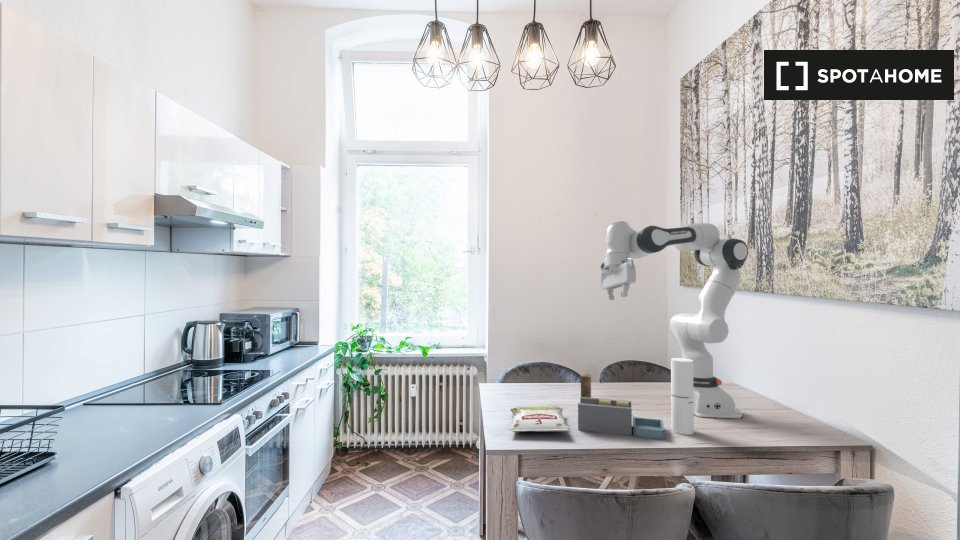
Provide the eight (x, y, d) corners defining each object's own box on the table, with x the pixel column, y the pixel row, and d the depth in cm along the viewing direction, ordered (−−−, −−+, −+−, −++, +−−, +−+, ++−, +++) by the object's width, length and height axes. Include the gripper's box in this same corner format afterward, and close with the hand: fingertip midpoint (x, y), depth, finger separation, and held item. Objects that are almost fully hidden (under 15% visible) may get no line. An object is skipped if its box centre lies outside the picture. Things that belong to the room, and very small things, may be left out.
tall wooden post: (591, 415, 174) (591, 374, 174) (590, 419, 169) (590, 376, 170) (582, 414, 175) (582, 373, 175) (580, 418, 170) (580, 376, 171)
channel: (631, 425, 162) (631, 401, 162) (631, 435, 152) (631, 408, 152) (580, 420, 167) (580, 396, 167) (578, 429, 158) (578, 404, 158)
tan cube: (610, 409, 161) (610, 398, 161) (610, 413, 157) (610, 401, 157) (599, 408, 162) (599, 397, 162) (598, 412, 158) (598, 400, 158)
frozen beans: (562, 400, 173) (571, 421, 148) (563, 415, 173) (572, 439, 148) (509, 401, 175) (509, 422, 150) (510, 416, 175) (509, 439, 150)
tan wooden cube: (628, 411, 159) (628, 400, 159) (628, 414, 155) (628, 403, 155) (616, 410, 160) (616, 399, 160) (616, 413, 156) (616, 402, 157)
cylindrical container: (668, 427, 160) (667, 357, 160) (688, 427, 160) (687, 357, 160) (676, 434, 153) (675, 361, 153) (697, 434, 153) (696, 361, 153)
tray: (662, 428, 159) (662, 419, 159) (665, 439, 148) (665, 430, 148) (632, 425, 162) (632, 416, 162) (633, 436, 151) (633, 427, 151)
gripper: (640, 257, 161) (640, 295, 158) (612, 268, 180) (611, 302, 177) (624, 255, 159) (624, 293, 157) (597, 267, 179) (597, 301, 176)
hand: (617, 298), depth 167 cm, fingers open, 8 cm apart
